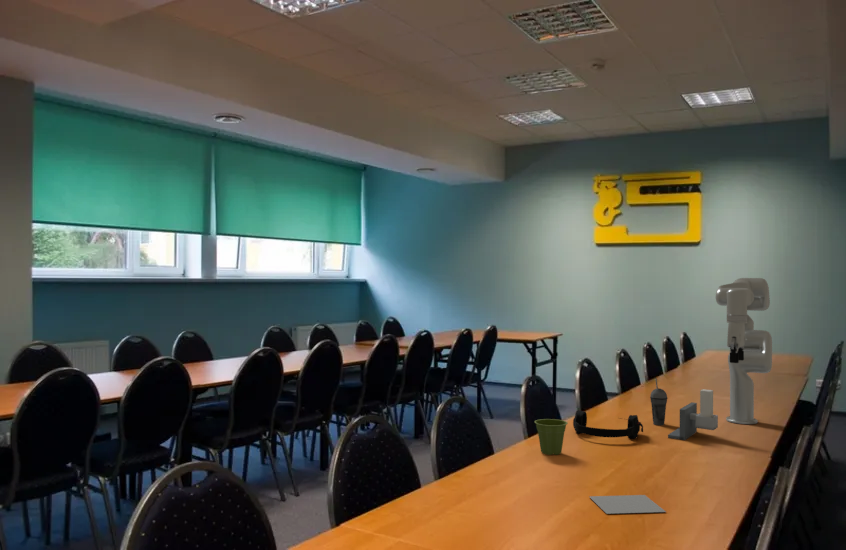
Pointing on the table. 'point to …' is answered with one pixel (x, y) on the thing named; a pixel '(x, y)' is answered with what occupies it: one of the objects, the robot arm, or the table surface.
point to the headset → (581, 428)
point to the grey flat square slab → (626, 504)
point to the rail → (706, 403)
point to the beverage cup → (658, 405)
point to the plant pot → (551, 435)
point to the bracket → (692, 422)
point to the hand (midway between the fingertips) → (736, 361)
